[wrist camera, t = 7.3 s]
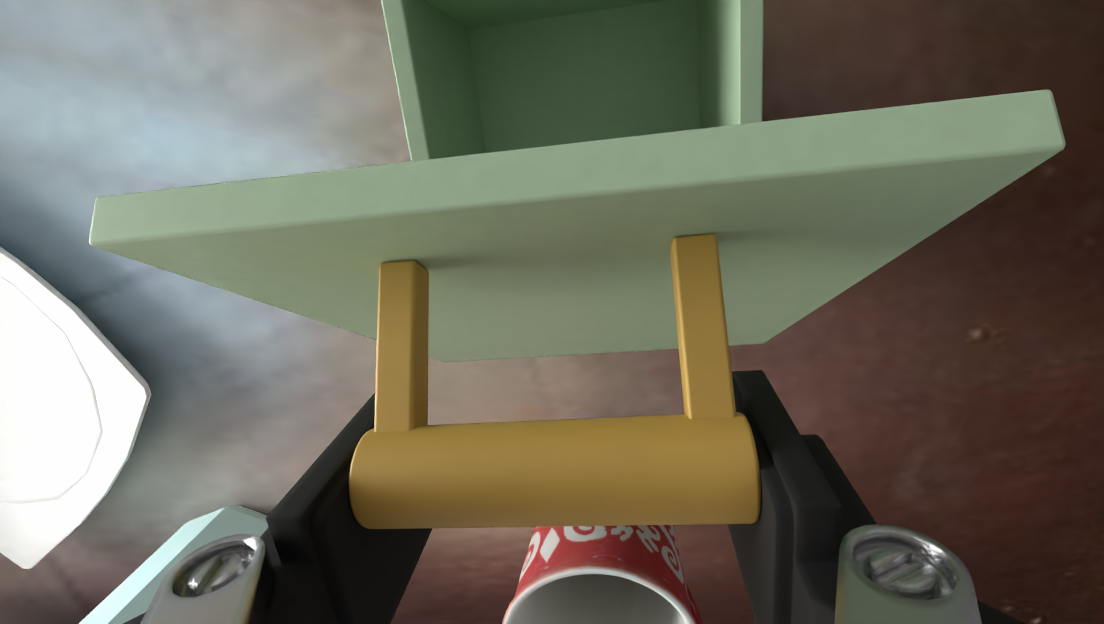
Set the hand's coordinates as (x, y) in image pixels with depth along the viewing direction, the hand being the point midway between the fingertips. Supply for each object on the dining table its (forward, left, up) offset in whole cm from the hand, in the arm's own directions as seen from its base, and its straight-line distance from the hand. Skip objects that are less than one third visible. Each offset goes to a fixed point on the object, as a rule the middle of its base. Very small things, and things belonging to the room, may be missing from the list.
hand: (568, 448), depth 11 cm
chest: (-5, -1, -22) cm, 22 cm away
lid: (-2, 0, -5) cm, 5 cm away
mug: (+17, +3, -22) cm, 28 cm away
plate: (+14, -44, -22) cm, 51 cm away
